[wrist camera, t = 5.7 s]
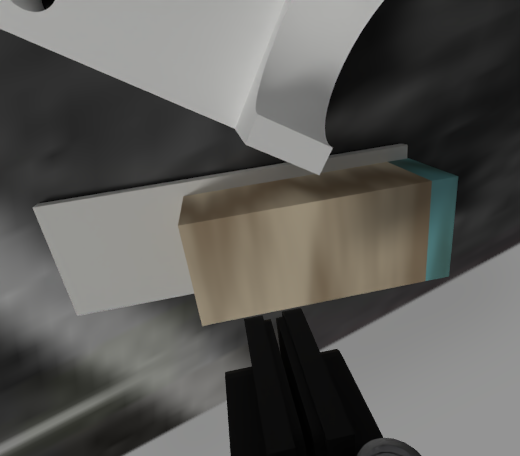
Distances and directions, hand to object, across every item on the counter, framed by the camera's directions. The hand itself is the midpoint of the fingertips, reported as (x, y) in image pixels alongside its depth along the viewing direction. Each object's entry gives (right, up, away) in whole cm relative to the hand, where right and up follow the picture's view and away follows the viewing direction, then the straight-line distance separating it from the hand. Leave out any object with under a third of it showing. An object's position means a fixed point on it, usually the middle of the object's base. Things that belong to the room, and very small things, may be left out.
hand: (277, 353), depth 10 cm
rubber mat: (-2, +4, +9) cm, 10 cm away
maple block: (-4, +2, +7) cm, 8 cm away
